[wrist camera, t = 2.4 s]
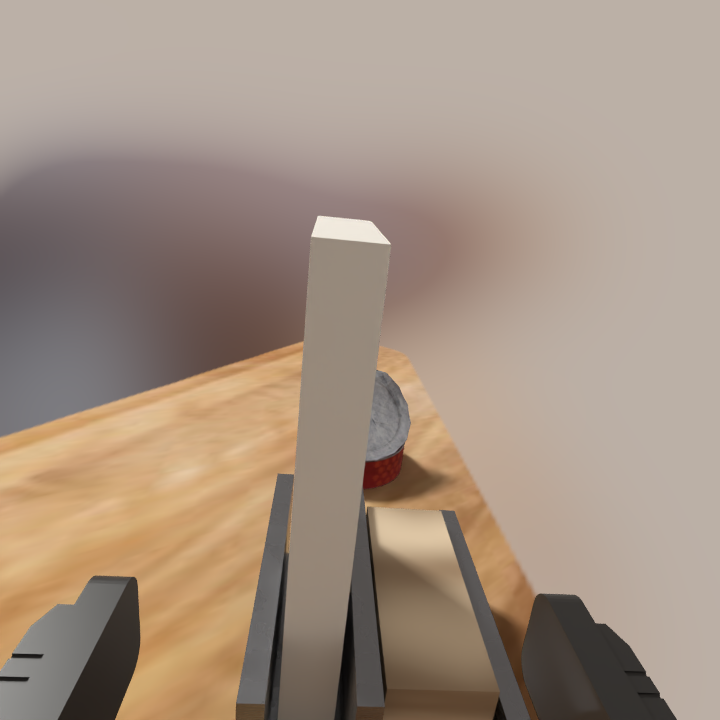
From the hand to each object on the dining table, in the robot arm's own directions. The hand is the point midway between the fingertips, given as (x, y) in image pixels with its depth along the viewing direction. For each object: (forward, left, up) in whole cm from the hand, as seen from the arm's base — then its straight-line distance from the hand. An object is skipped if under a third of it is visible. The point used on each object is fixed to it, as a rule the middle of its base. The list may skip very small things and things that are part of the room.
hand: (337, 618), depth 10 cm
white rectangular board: (-9, +9, -15) cm, 20 cm away
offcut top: (-5, +13, -13) cm, 19 cm away
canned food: (-23, +27, -17) cm, 40 cm away
